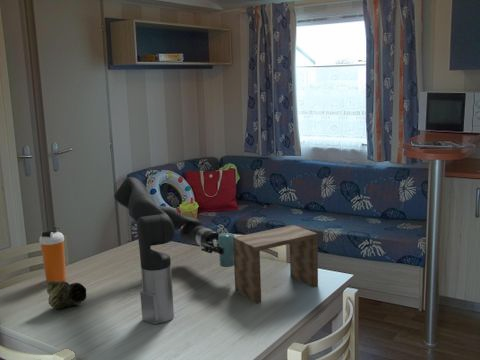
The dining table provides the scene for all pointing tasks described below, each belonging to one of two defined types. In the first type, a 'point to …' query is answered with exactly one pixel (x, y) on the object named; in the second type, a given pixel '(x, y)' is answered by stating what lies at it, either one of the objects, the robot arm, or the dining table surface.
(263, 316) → the dining table surface
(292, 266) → the wooden bench stool
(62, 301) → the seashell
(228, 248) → the teal upright cylinder
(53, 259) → the shaker bottle
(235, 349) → the dining table surface
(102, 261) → the dining table surface
